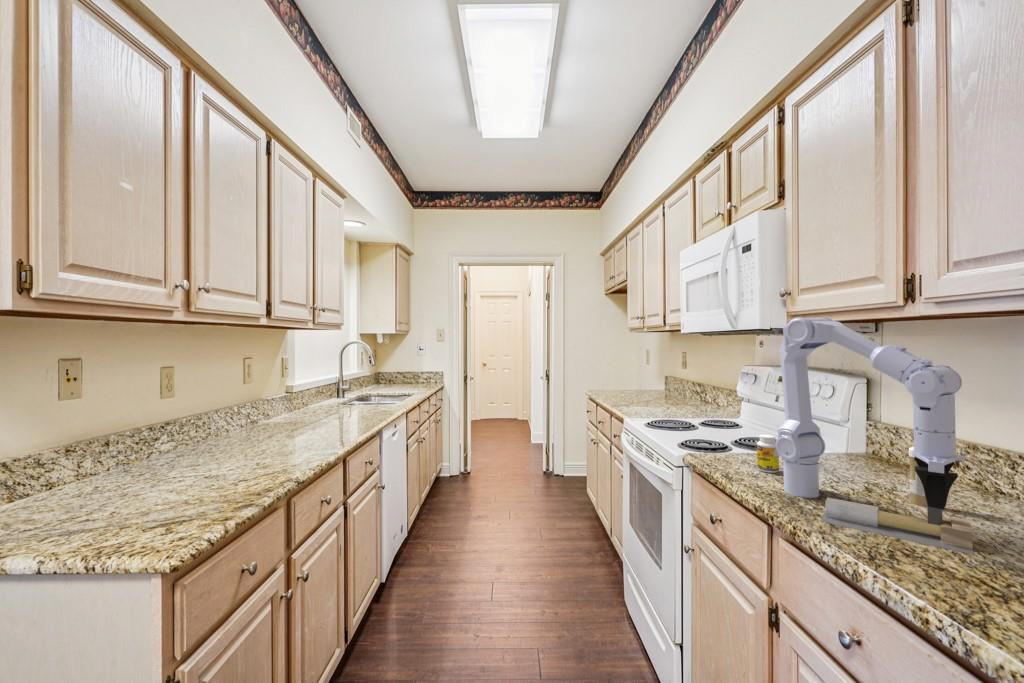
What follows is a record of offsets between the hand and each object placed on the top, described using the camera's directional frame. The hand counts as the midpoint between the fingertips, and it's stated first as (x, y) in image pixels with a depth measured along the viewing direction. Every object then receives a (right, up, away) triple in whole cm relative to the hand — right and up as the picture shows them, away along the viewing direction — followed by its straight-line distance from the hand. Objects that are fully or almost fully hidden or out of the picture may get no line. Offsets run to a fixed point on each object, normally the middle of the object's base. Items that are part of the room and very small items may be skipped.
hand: (935, 501), depth 82 cm
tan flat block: (-3, -7, +2) cm, 8 cm away
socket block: (+2, -7, -2) cm, 7 cm away
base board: (-5, -8, +4) cm, 10 cm away
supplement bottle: (-5, -8, +45) cm, 46 cm away
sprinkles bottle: (+13, -8, +16) cm, 22 cm away
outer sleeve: (-9, -7, +9) cm, 14 cm away
